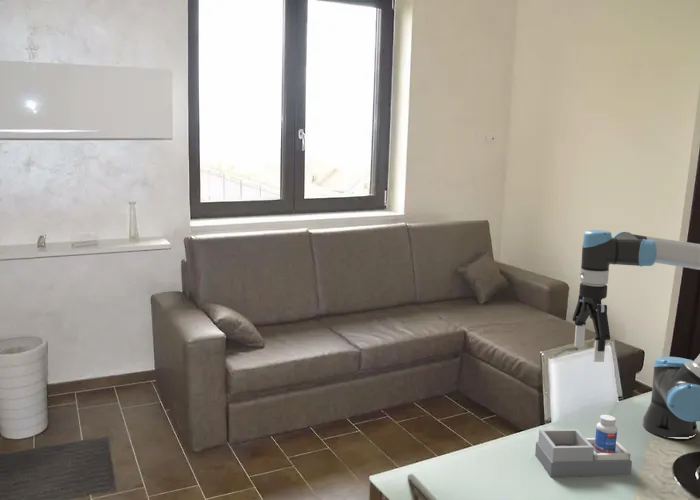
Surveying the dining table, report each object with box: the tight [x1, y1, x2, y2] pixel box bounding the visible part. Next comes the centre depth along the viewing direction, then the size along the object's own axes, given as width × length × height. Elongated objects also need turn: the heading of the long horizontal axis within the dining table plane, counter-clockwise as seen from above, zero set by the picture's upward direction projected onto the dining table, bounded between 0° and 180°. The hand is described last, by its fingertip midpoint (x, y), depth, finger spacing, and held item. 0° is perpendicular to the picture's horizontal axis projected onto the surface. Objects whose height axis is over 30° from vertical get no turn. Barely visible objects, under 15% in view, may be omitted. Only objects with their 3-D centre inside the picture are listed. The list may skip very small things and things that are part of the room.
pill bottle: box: [594, 414, 618, 453], centre depth 175 cm, size 6×5×10 cm
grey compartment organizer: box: [534, 428, 633, 478], centre depth 175 cm, size 22×12×8 cm, turn 93°
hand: (588, 353), depth 188 cm, fingers open, 13 cm apart
